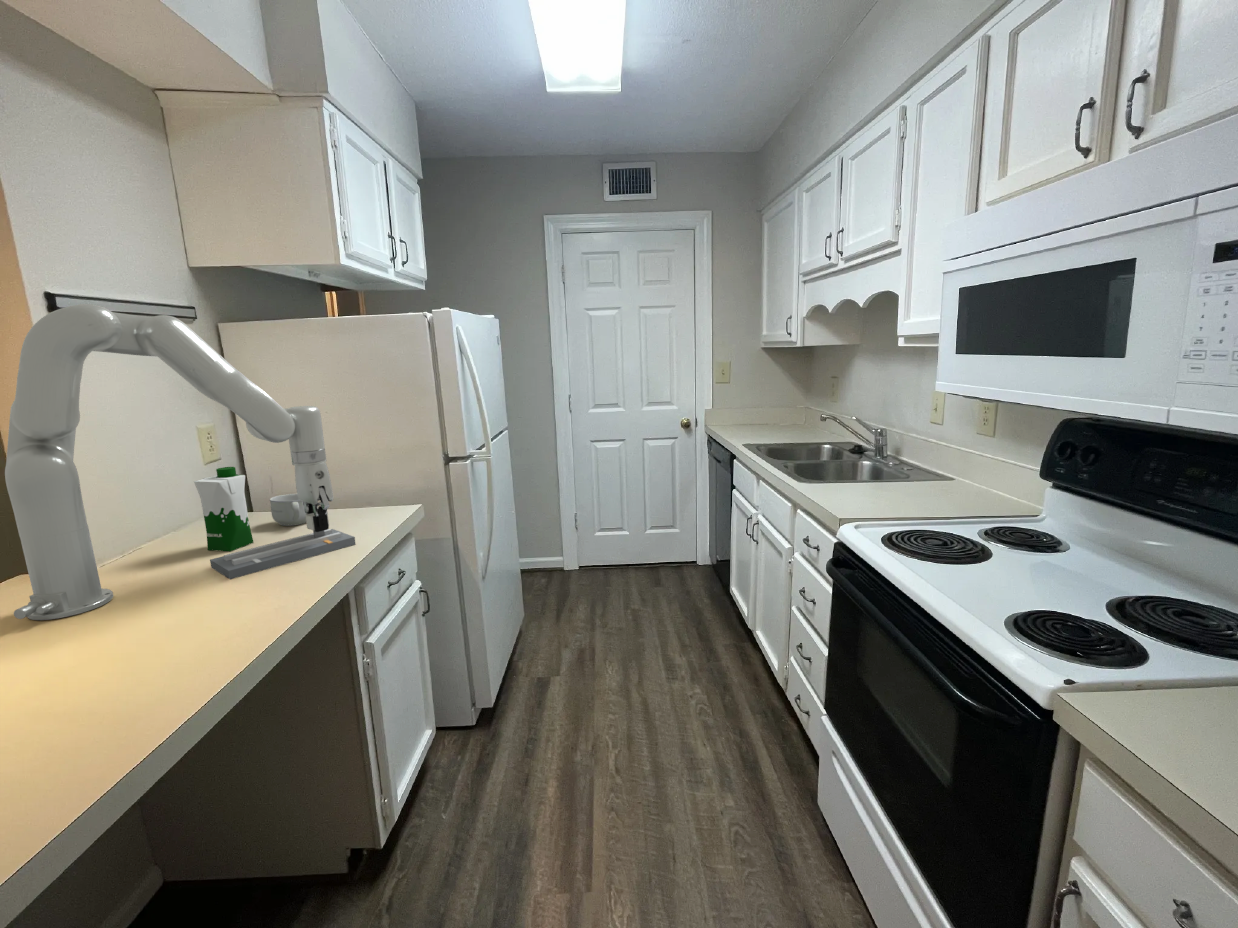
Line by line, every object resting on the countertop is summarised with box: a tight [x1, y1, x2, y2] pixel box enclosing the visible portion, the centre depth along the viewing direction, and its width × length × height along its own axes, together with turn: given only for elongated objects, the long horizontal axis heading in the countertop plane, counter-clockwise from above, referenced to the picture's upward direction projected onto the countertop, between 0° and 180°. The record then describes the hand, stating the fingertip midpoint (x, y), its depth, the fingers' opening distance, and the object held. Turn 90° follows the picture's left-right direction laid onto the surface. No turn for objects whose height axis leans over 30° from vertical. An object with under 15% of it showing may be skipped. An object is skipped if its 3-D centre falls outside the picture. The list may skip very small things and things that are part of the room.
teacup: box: [269, 493, 308, 527], centre depth 167 cm, size 14×11×8 cm
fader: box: [305, 513, 330, 538], centre depth 147 cm, size 4×3×6 cm
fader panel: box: [209, 528, 356, 580], centre depth 141 cm, size 28×12×3 cm, turn 141°
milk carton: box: [193, 466, 254, 553], centre depth 148 cm, size 9×9×20 cm
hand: (318, 528), depth 147 cm, fingers closed on fader, 3 cm apart
